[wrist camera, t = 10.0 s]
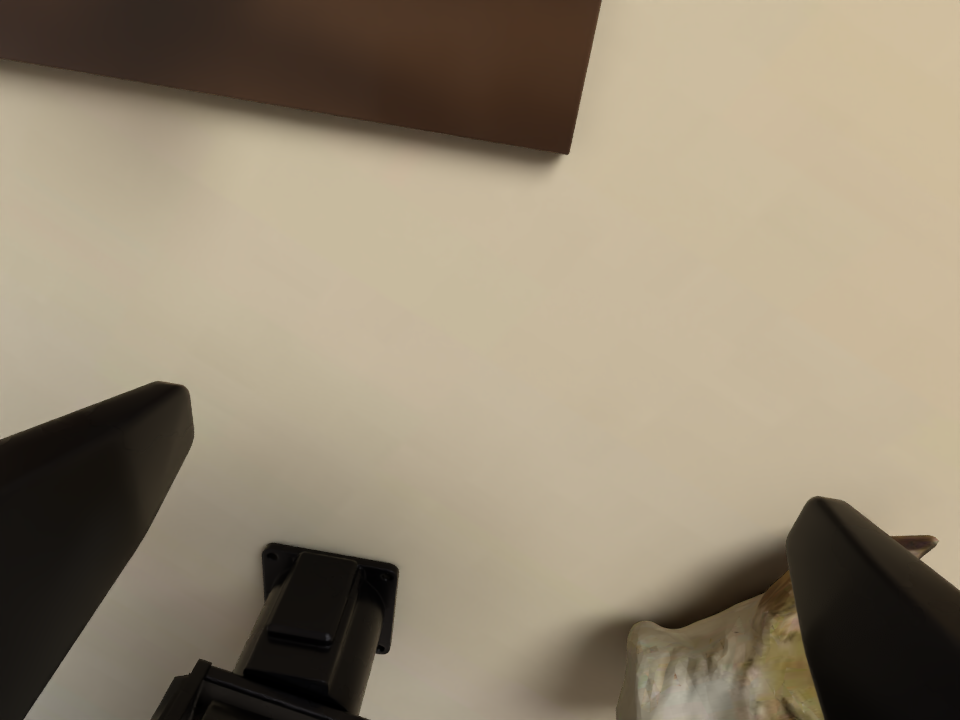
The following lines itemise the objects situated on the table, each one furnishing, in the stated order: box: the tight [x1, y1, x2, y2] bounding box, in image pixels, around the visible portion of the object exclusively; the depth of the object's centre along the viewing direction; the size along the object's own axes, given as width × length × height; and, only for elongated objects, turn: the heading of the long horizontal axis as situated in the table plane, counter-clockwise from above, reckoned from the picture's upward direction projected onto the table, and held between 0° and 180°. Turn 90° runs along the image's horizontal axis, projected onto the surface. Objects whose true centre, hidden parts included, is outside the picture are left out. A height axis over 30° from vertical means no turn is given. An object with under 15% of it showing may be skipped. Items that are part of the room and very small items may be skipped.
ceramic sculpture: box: [616, 535, 939, 720], centre depth 25 cm, size 11×9×15 cm
